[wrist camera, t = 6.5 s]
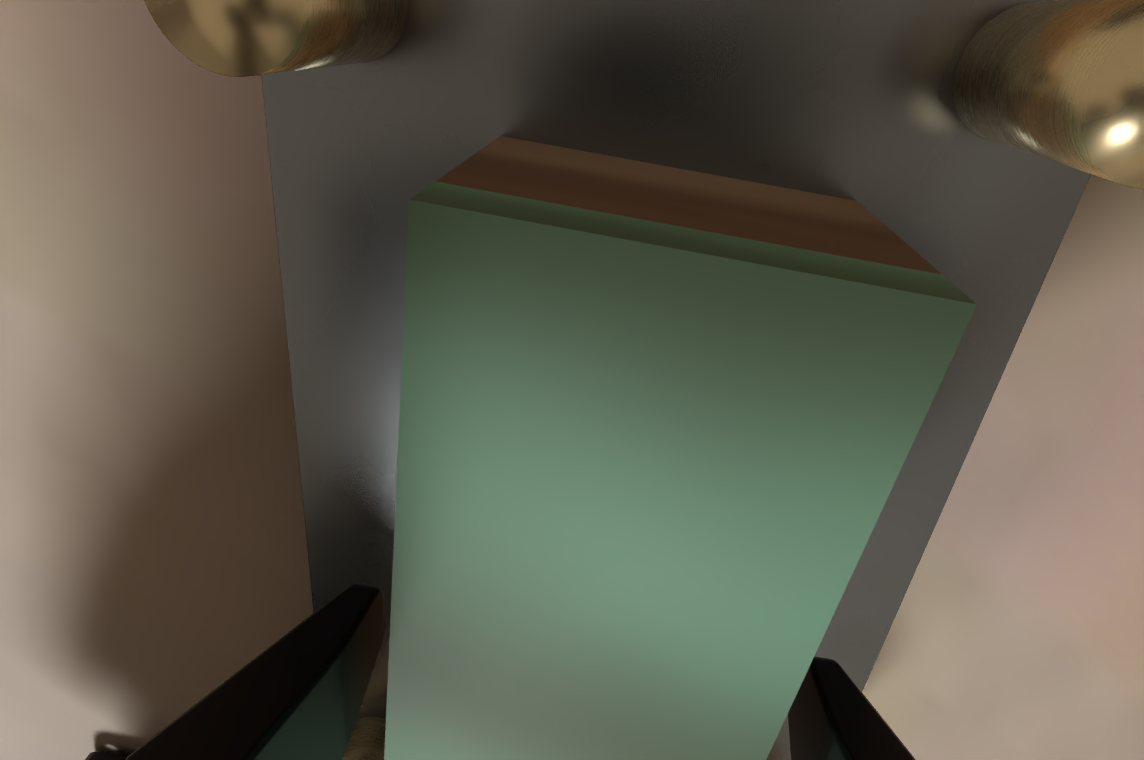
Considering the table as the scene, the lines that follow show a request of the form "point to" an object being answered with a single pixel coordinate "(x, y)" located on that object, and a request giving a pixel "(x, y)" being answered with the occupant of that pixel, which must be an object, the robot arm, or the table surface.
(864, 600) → the plate
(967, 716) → the table surface
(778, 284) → the board block
